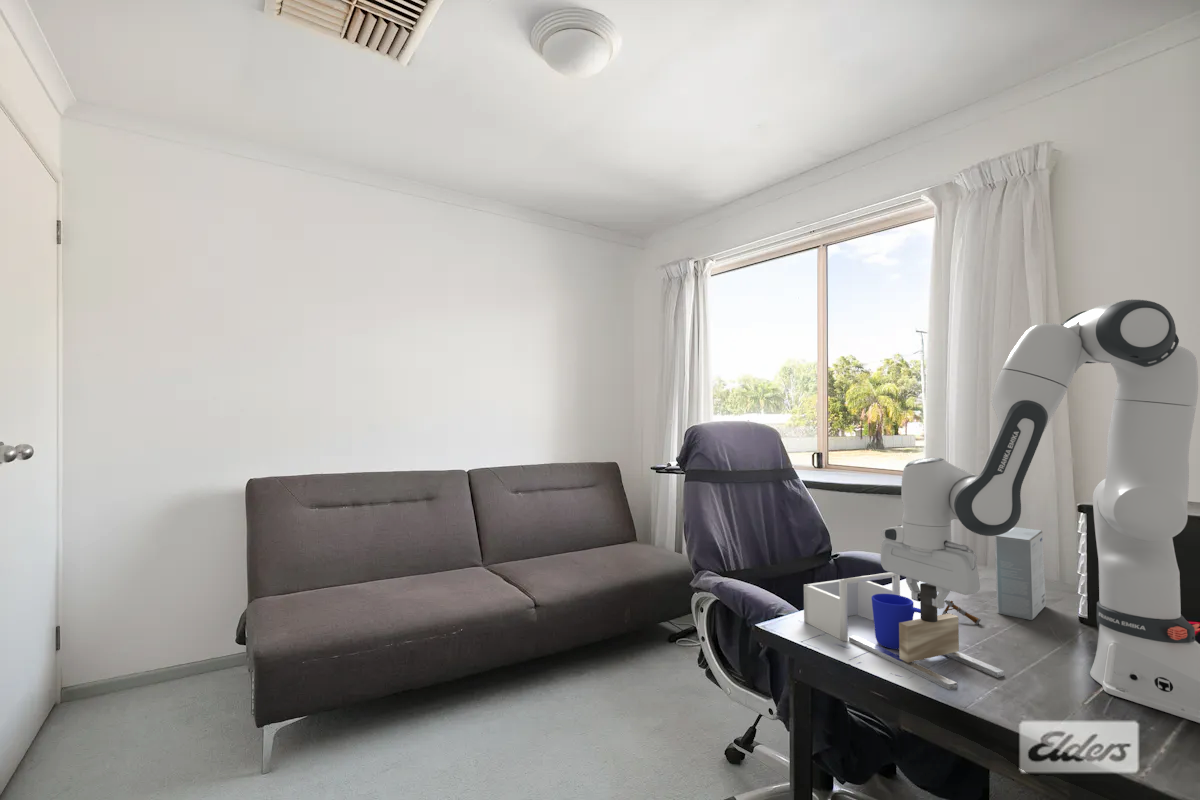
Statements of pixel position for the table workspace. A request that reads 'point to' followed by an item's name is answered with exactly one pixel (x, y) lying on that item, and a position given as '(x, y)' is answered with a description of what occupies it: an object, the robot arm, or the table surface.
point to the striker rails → (924, 671)
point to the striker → (928, 631)
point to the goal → (843, 601)
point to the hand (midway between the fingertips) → (927, 603)
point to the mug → (891, 617)
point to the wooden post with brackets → (951, 604)
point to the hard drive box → (1020, 573)
